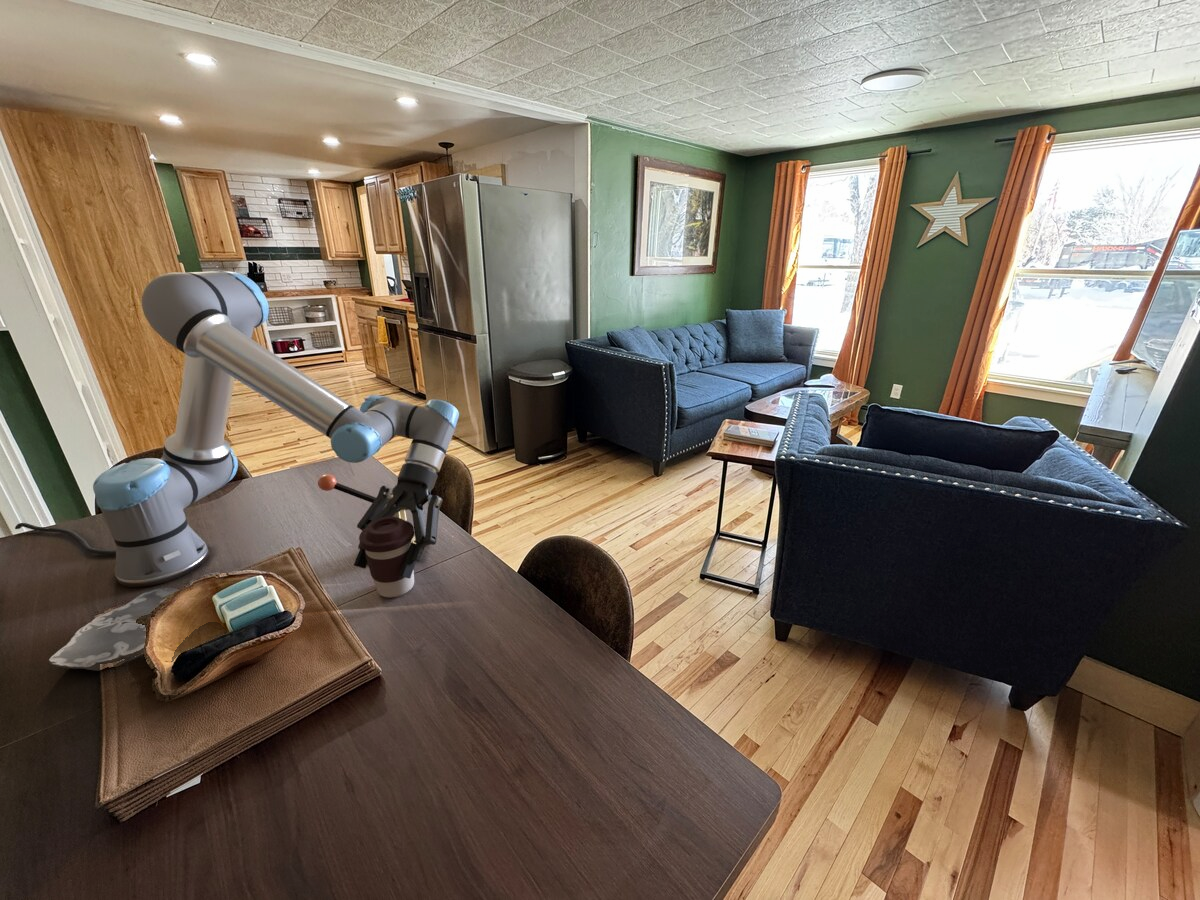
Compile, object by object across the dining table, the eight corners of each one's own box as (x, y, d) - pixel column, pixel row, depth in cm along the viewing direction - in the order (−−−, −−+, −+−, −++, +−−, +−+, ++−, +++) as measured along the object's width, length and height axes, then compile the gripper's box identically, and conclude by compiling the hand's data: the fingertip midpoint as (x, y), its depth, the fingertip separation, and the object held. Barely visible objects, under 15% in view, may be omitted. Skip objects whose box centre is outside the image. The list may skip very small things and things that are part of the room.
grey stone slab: (139, 682, 76) (132, 669, 75) (35, 679, 76) (27, 665, 75) (230, 601, 94) (226, 588, 93) (146, 598, 94) (140, 586, 93)
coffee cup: (403, 606, 93) (393, 542, 87) (359, 598, 95) (345, 535, 89) (430, 575, 102) (422, 515, 96) (389, 569, 104) (378, 509, 98)
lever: (312, 489, 101) (318, 476, 100) (319, 482, 104) (324, 469, 103) (392, 519, 106) (398, 506, 105) (396, 511, 109) (402, 498, 108)
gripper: (475, 481, 102) (440, 586, 94) (387, 467, 107) (347, 564, 99) (459, 469, 95) (421, 580, 87) (366, 454, 101) (322, 557, 93)
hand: (381, 572), depth 93 cm, fingers closed on coffee cup, 10 cm apart
